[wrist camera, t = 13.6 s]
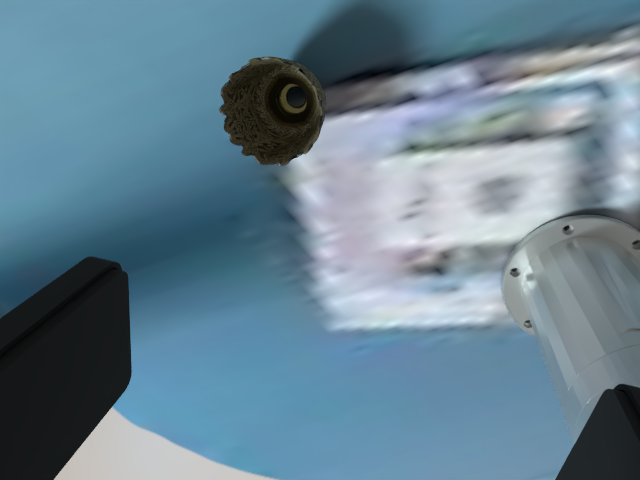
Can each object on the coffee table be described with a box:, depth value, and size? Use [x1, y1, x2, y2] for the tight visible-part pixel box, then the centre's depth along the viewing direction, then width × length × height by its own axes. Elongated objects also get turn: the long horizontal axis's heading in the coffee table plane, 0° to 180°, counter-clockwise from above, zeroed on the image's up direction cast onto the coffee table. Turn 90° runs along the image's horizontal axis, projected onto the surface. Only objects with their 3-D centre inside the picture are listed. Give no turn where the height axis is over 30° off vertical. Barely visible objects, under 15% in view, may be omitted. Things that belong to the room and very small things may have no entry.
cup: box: [219, 57, 326, 166], centre depth 37 cm, size 8×7×8 cm
